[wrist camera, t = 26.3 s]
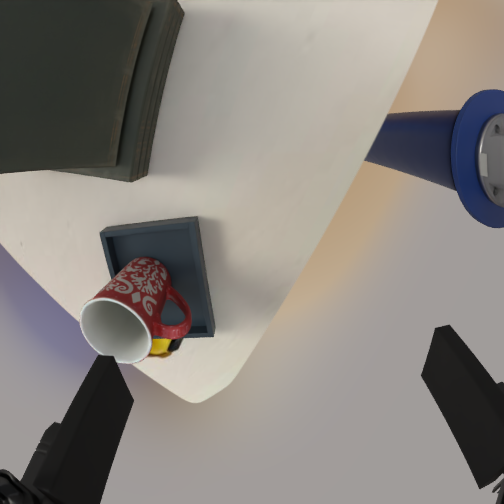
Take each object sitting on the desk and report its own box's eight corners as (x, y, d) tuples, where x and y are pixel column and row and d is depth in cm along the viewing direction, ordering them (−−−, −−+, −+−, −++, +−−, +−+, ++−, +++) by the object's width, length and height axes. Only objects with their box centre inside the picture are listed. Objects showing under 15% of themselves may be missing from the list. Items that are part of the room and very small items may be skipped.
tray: (197, 216, 40) (194, 221, 38) (215, 327, 47) (213, 337, 45) (107, 226, 41) (99, 232, 38) (135, 329, 47) (130, 338, 45)
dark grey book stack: (147, 175, 38) (27, 238, 15) (35, 159, 37) (-94, 200, 13) (185, 13, 30) (115, -97, 7) (65, 16, 28) (-49, -28, 5)
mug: (120, 300, 45) (84, 354, 32) (118, 246, 41) (74, 291, 29) (199, 314, 45) (183, 377, 33) (204, 259, 42) (186, 312, 30)
